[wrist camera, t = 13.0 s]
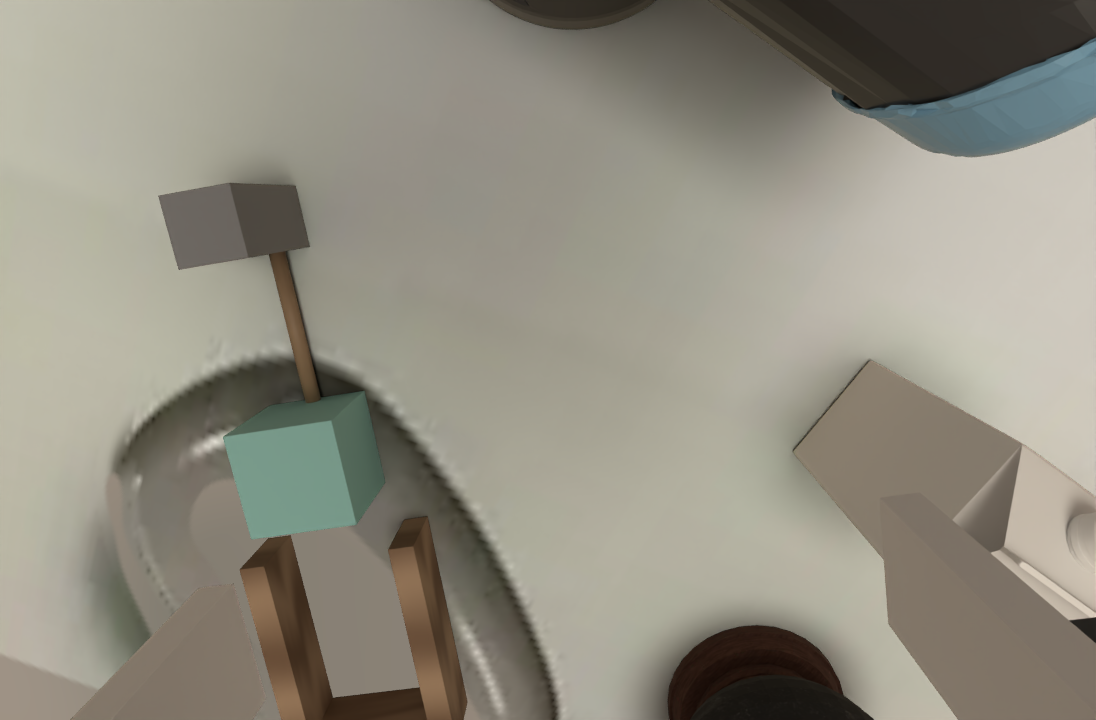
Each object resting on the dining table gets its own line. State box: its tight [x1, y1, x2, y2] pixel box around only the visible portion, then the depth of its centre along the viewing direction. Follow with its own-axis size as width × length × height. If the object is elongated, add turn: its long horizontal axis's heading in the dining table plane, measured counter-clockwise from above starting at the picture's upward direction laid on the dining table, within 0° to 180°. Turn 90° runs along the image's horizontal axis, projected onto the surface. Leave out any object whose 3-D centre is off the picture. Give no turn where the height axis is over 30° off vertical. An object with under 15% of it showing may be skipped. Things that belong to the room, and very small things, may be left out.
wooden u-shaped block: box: [240, 517, 467, 720], centre depth 45 cm, size 14×10×5 cm
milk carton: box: [793, 360, 1096, 620], centre depth 34 cm, size 7×7×19 cm
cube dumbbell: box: [158, 183, 385, 539], centre depth 39 cm, size 18×6×8 cm, turn 9°
